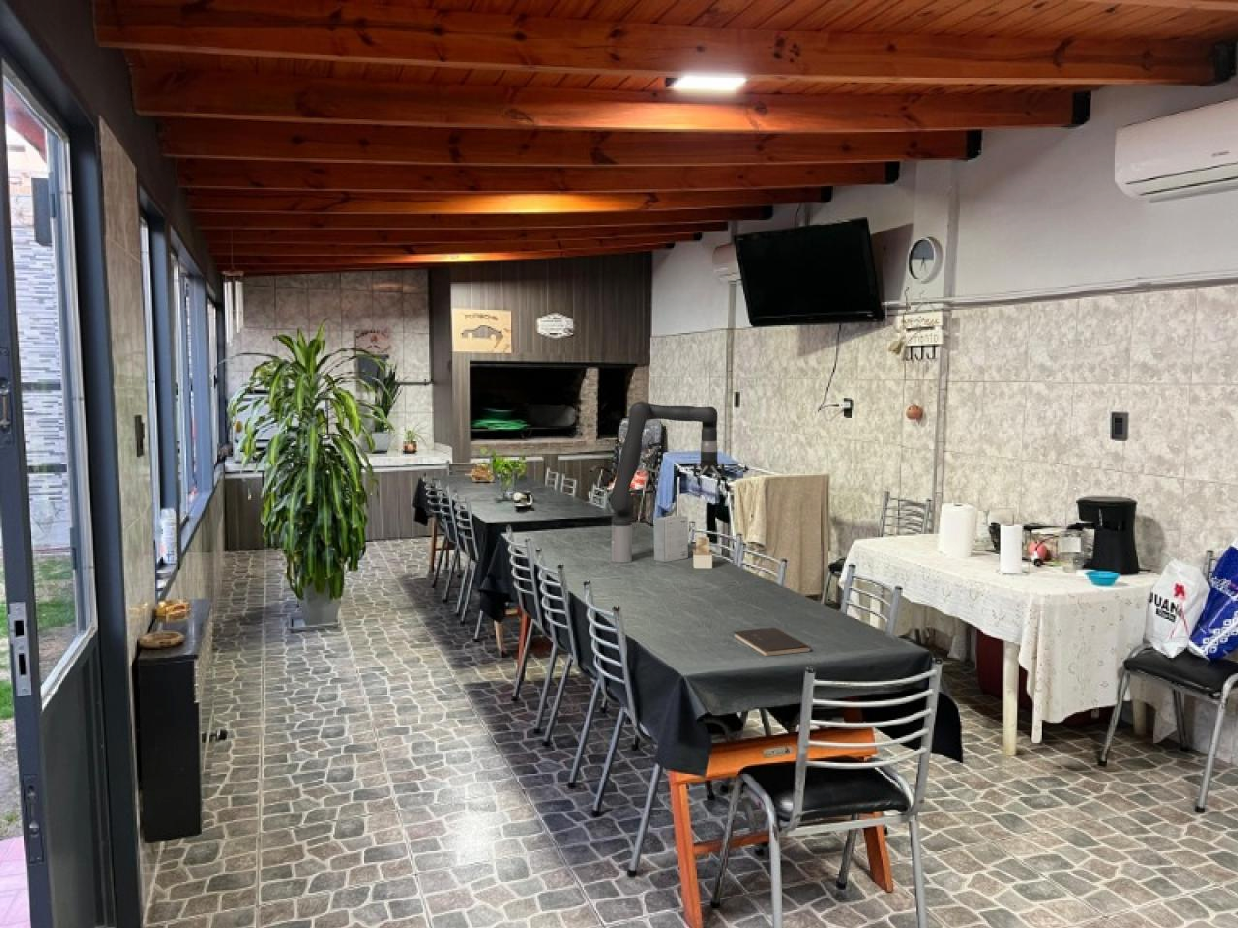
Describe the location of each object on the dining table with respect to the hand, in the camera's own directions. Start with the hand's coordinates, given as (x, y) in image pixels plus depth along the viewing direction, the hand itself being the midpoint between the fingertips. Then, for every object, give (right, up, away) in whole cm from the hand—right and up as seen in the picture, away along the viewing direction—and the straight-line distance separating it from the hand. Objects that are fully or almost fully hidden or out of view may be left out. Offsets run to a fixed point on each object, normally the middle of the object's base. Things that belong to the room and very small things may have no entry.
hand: (708, 486), depth 422 cm
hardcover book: (+8, -49, -122) cm, 132 cm away
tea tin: (-3, -37, -1) cm, 37 cm away
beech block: (-3, -30, -2) cm, 30 cm away
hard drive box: (-17, -35, +15) cm, 42 cm away
